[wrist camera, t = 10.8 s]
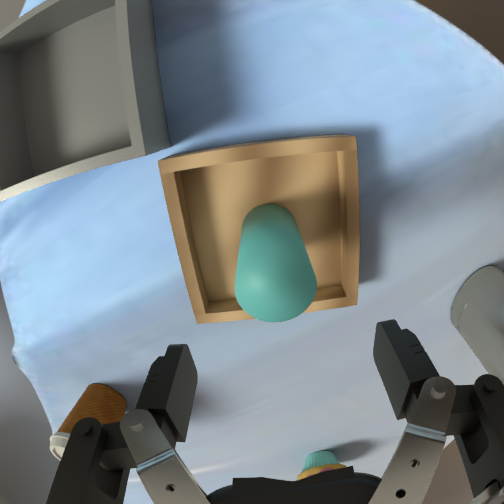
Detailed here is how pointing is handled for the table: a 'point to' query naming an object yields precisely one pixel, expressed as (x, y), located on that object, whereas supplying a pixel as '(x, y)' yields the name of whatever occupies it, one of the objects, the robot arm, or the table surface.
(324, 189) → the tray
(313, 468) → the cupcake
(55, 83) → the deep bin
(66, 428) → the disposable coffee cup
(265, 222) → the peg
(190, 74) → the table surface
